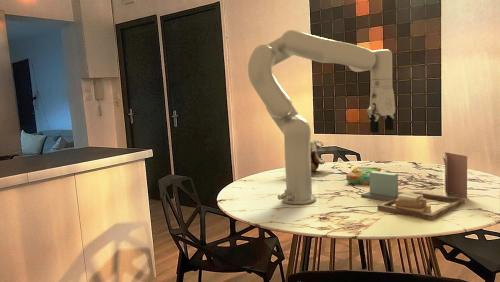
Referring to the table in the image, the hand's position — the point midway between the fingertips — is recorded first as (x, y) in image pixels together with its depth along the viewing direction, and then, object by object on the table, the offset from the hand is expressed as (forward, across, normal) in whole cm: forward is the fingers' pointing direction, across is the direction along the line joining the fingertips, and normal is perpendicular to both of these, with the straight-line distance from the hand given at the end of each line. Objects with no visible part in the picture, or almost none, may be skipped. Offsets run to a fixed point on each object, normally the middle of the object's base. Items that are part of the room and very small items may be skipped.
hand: (382, 131), depth 152 cm
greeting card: (+25, +16, -20) cm, 35 cm away
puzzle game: (+25, +20, +22) cm, 38 cm away
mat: (+24, 0, -1) cm, 25 cm away
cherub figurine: (+25, +16, +49) cm, 57 cm away
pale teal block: (+24, 0, -1) cm, 24 cm away
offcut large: (+25, -12, -18) cm, 33 cm away
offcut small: (+21, -12, -18) cm, 29 cm away
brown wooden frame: (+24, -5, -18) cm, 31 cm away
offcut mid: (+23, -12, -18) cm, 31 cm away
